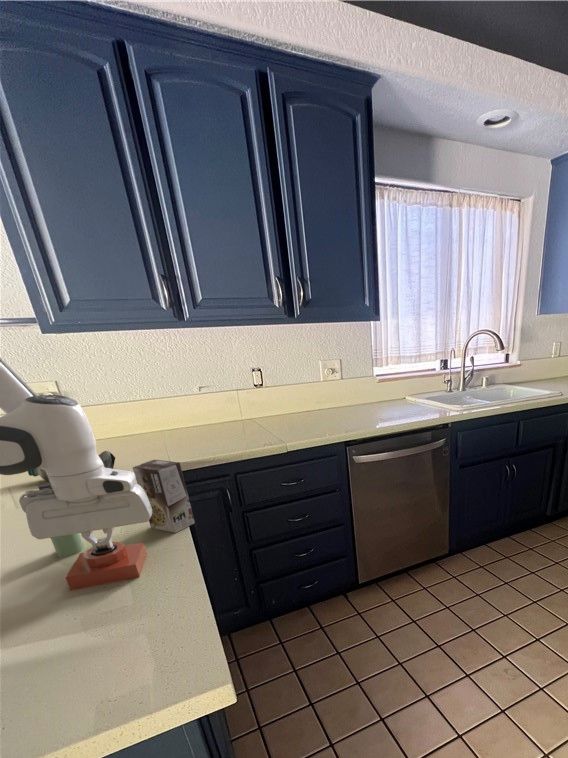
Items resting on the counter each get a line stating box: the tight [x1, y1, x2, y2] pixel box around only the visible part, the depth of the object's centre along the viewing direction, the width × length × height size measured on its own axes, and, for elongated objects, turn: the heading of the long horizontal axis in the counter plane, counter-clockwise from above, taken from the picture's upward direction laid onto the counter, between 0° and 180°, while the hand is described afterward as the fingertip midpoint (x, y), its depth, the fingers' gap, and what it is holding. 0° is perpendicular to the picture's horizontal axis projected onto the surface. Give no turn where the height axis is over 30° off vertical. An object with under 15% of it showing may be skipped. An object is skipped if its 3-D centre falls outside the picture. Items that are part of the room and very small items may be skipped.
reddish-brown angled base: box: [65, 541, 148, 591], centre depth 87 cm, size 12×10×5 cm
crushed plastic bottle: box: [27, 450, 116, 481], centre depth 146 cm, size 13×7×25 cm
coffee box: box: [132, 459, 196, 534], centre depth 104 cm, size 9×6×16 cm
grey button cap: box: [92, 545, 116, 556], centre depth 86 cm, size 4×4×2 cm
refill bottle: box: [38, 482, 85, 557], centre depth 94 cm, size 5×5×16 cm
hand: (104, 548), depth 86 cm, fingers closed, pressing on grey button cap
